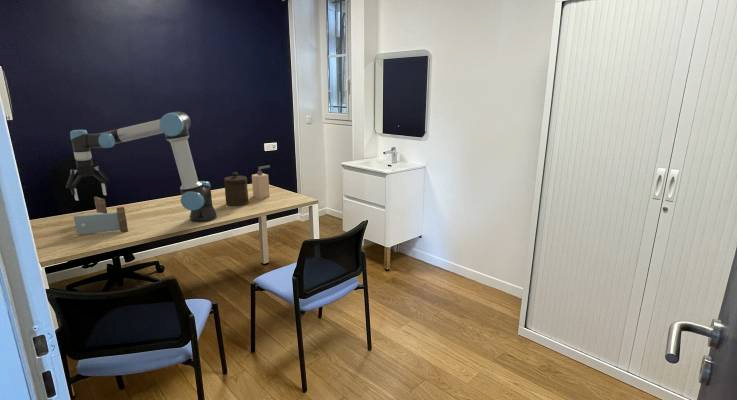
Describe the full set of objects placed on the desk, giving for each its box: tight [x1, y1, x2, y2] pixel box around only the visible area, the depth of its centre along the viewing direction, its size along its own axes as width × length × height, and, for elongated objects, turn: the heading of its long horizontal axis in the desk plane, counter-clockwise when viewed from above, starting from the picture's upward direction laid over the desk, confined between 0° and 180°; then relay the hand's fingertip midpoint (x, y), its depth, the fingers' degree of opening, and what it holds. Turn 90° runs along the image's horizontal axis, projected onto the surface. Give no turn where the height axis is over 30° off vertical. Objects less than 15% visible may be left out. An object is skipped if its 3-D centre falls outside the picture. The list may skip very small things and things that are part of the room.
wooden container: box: [223, 171, 250, 207], centre depth 274 cm, size 15×15×22 cm
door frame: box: [93, 196, 129, 234], centre depth 231 cm, size 36×3×14 cm, turn 52°
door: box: [73, 211, 120, 235], centre depth 219 cm, size 22×3×10 cm, turn 111°
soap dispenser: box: [251, 165, 271, 200], centre depth 293 cm, size 13×9×22 cm
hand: (91, 197), depth 221 cm, fingers open, 13 cm apart
